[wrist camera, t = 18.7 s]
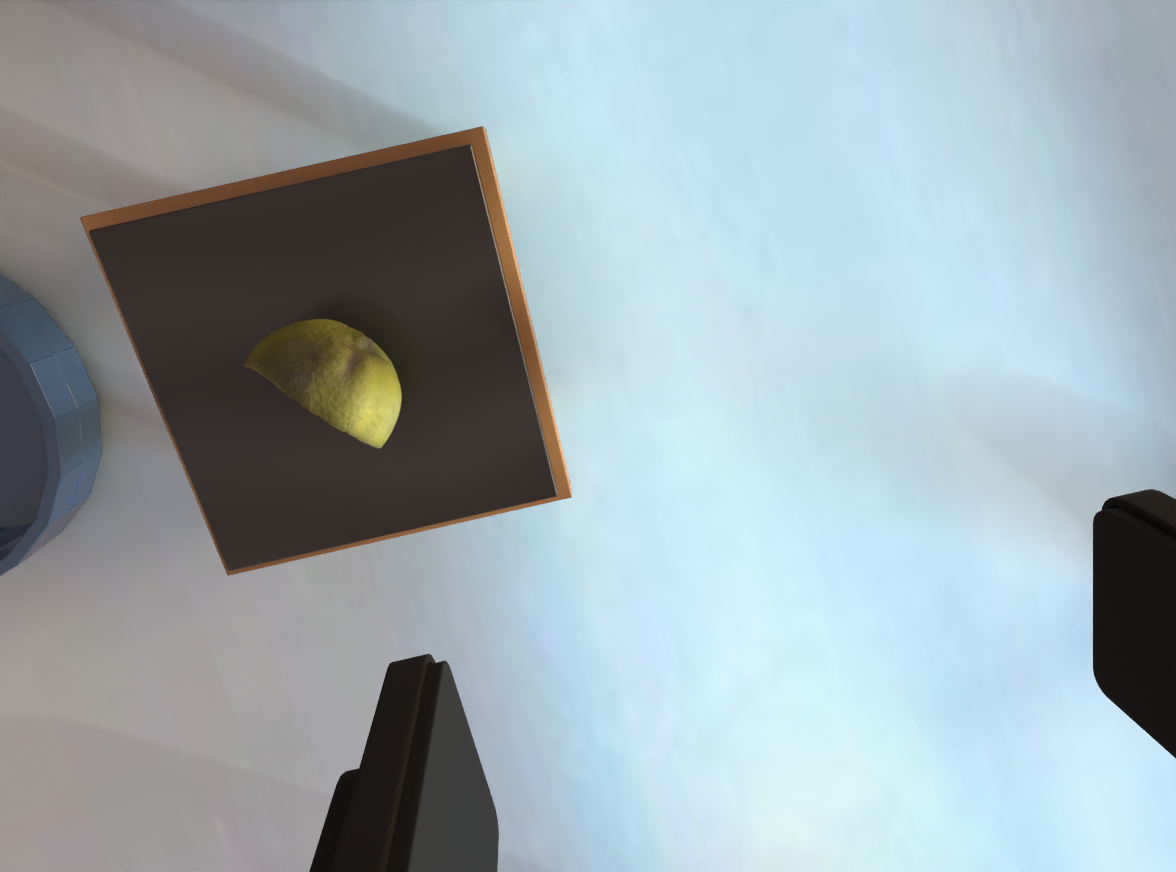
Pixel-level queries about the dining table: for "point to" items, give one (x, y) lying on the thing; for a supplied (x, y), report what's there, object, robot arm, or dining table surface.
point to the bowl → (41, 427)
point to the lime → (333, 376)
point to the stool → (363, 302)
